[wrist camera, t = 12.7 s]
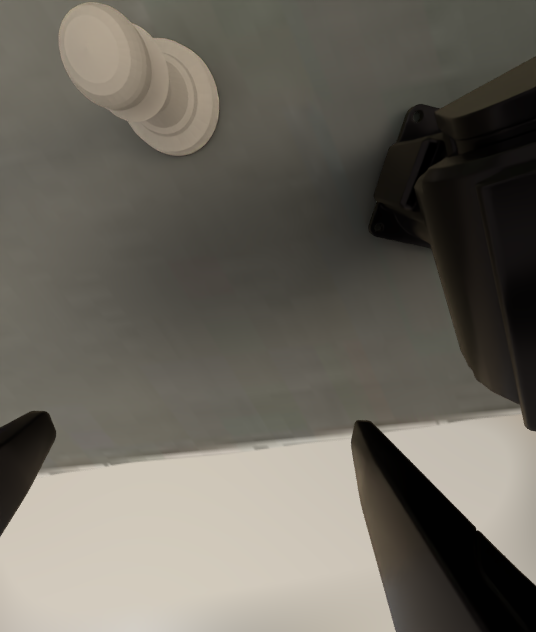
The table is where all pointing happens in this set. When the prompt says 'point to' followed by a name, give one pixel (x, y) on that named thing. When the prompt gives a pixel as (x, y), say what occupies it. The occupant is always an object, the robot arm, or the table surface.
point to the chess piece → (140, 78)
